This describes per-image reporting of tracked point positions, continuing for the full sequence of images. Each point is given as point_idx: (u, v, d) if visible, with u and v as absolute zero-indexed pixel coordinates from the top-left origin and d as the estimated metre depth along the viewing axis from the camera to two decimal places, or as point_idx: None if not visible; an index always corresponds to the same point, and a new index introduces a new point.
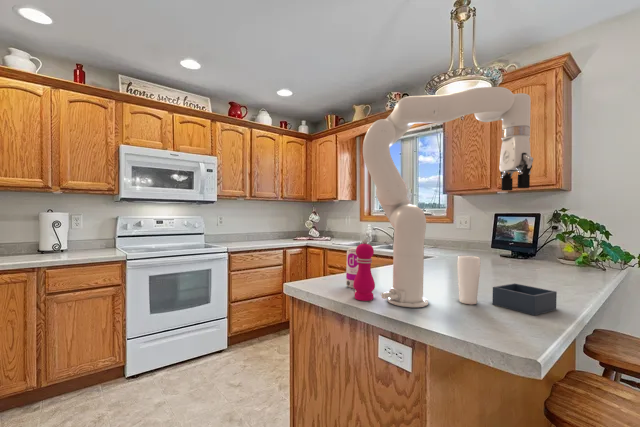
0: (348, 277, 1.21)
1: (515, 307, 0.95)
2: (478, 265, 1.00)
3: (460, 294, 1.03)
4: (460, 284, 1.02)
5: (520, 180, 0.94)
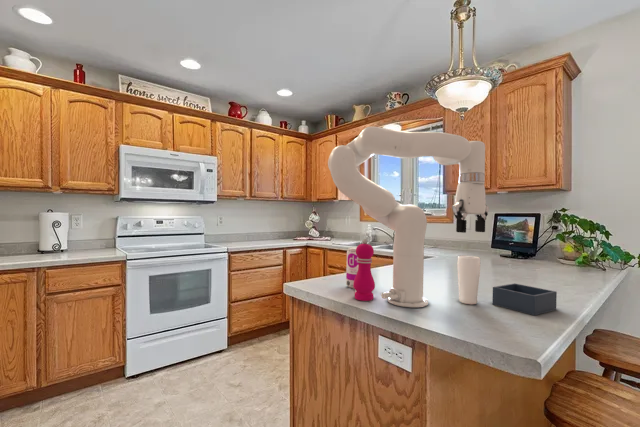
0: (348, 277, 1.21)
1: (515, 307, 0.95)
2: (478, 265, 1.00)
3: (460, 294, 1.03)
4: (460, 284, 1.02)
5: None
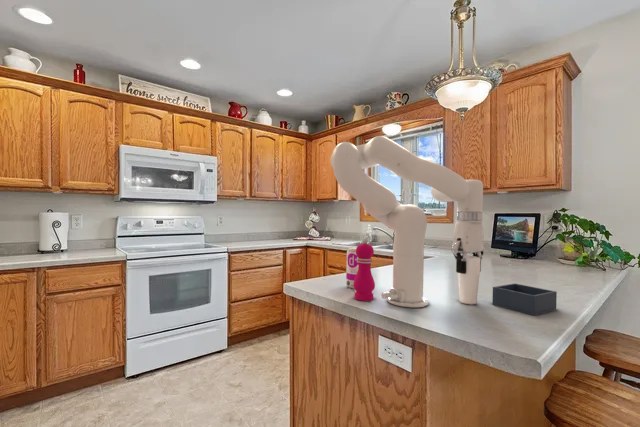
0: (348, 277, 1.21)
1: (515, 307, 0.95)
2: (478, 265, 1.00)
3: (460, 294, 1.03)
4: (460, 284, 1.02)
5: None
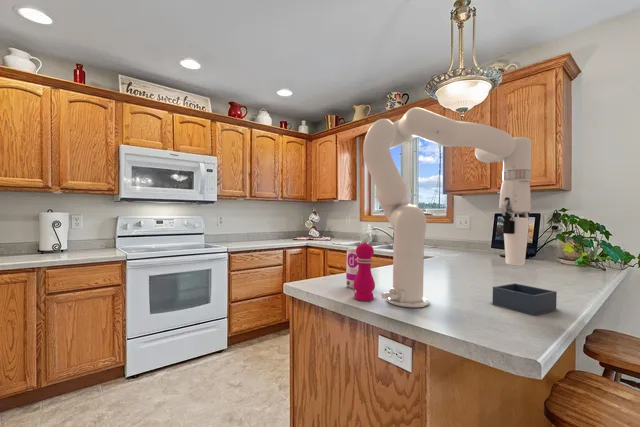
0: (348, 277, 1.21)
1: (515, 307, 0.95)
2: (527, 225, 0.97)
3: (507, 256, 1.00)
4: (507, 245, 0.99)
5: (504, 226, 0.99)
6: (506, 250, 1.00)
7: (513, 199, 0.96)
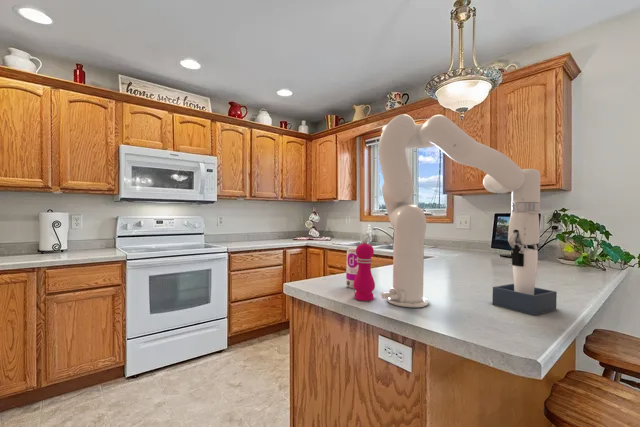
0: (348, 277, 1.21)
1: (515, 307, 0.95)
2: (536, 257, 0.96)
3: (516, 288, 0.99)
4: (516, 277, 0.99)
5: None
6: (515, 282, 0.99)
7: (522, 232, 0.95)
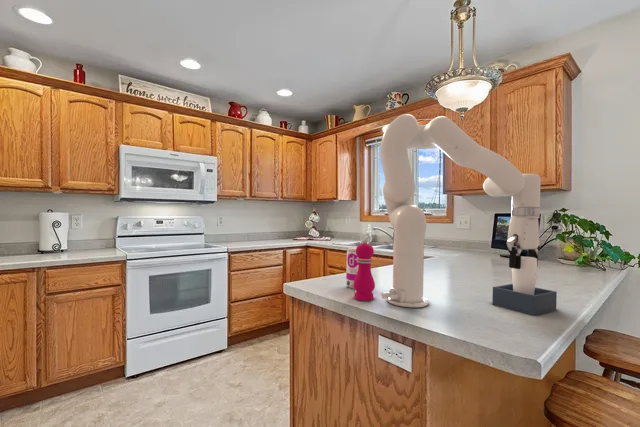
0: (348, 277, 1.21)
1: (515, 307, 0.95)
2: (535, 266, 0.96)
3: None
4: (516, 286, 0.99)
5: (510, 260, 0.98)
6: (514, 290, 0.99)
7: (522, 236, 0.95)
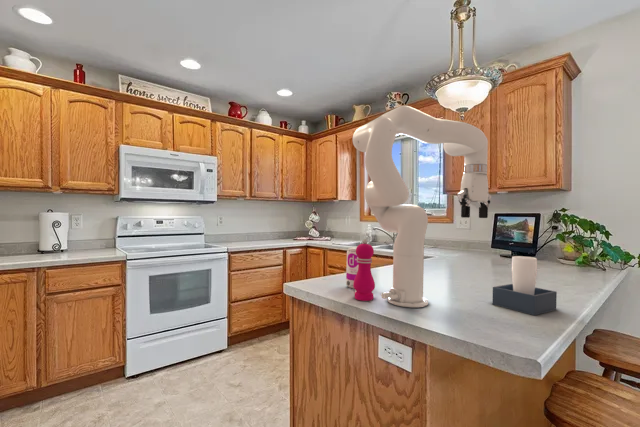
0: (348, 277, 1.21)
1: (515, 307, 0.95)
2: (535, 266, 0.96)
3: None
4: (516, 286, 0.99)
5: None
6: (514, 290, 0.99)
7: (470, 189, 1.11)
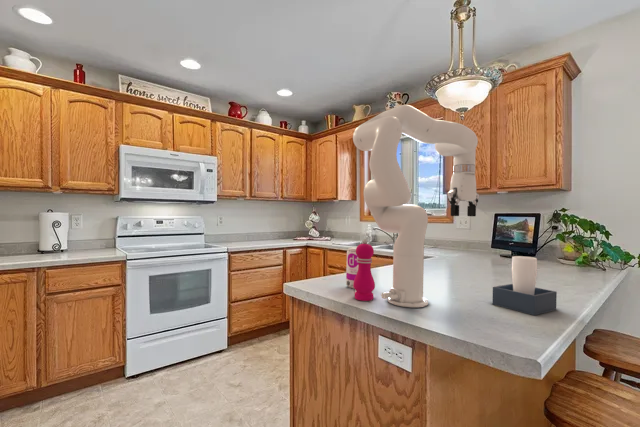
0: (348, 277, 1.21)
1: (515, 307, 0.95)
2: (536, 266, 0.96)
3: None
4: (516, 286, 0.99)
5: None
6: (514, 290, 0.99)
7: (459, 189, 1.14)
